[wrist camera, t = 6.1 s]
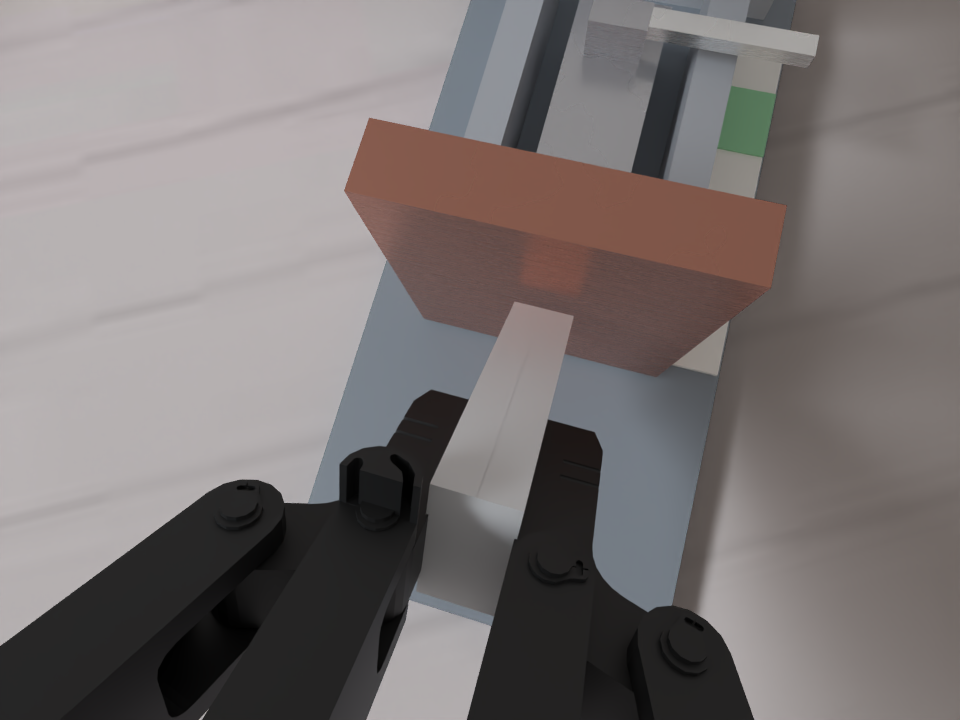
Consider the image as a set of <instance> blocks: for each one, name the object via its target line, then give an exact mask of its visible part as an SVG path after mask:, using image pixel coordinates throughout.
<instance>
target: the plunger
mask: <svg viewBox="0 0 960 720" xmlns="http://www.w3.org/2000/svg"><path fill="white" fill-rule="evenodd" d="M818 40H819V35H814V34H808V33H803V32H797V31H791V30H785V29H779V28H774V27H768V26H762V25H756V24H750V23H745V22H739V21H733V20H727V19H722V18H716V17H710V16H704V15H698V14H693V13H687V12H681V11H675V10H672V7H670V6H664V5H658V4H655V3H654V2H648V1H643V0H580V1H579V4H578V8H577V11H576V15H575V18H574V22H573V25H572V29H571V32H570V36H569V39H568V43H567V46H566V50H565V53H564V57H563V61H562V64H561V68H560V71H559V75H558V78H557V82H556V85H555V89H554V92H553V96H552V99H551V103H550V106H549V110H548V113H547V117H546V120H545V124H544V127H543V131H542V134H541V138H540V141H539V145H538V149H537V152H536V153H535V152H530V151H525V150H520V149H515V148H511V147H506V146H501V145H496V144H492V143H487V142H482V141H477V140H473V139H468V138H463V137H458V136H453V135H449V134H444V133H439V132H434V131H430V130H425V129H420V128H415V127H411V126H406V125H401V124H396V123H391V122H387V121H382V120H377V119H372V118H369V120H368V123H367V126H366V129H365V132H364V135H363V138H362V141H361V143H360V146H359V149H358V152H357V155H356V158H355V161H354V164H353V167H352V169H351V172H350V175H349V178H348V181H347V184H346V187H345V190H344V191H345V193H346V194H347V196H348V198H349V199H350V201H351V203H352V204H353V206H354V207H355V209H356V211H357V212H358V214H359V215H360V217H361V219H362V220H363V222H364V223H365V225H366V227H367V228H368V230H369V231H370V233H371V235H372V236H373V238H374V239H375V241H376V243H377V244H378V246H379V247H380V249H381V251H382V252H383V254H384V255H385V257H386V259H387V260H388V262H389V264H390V265H391V267H392V268H393V270H394V272H395V273H396V275H397V276H398V278H399V280H400V281H401V283H402V284H403V286H404V288H405V289H406V291H407V292H408V294H409V296H410V297H411V299H412V300H413V302H414V304H415V305H416V307H417V308H418V310H419V312H420V313H421V315H422V317H423V318H424V319H427V320H431V321H435V322H439V323H443V324H447V325H451V326H455V327H459V328H463V329H467V330H471V331H475V332H479V333H483V334H487V335H491V336H495V337H498V336H499V334H500V332H501V330H502V328H503V325H504V323H505V321H506V319H507V317H508V315H509V313H510V310H511V308H512V306H513V304H514V302H519V303H523V304H527V305H531V306H535V307H539V308H544V309H547V310H552V311H556V312H560V313H564V314H568V315H572V316H574V318H573V321H572V325H571V329H570V333H569V337H568V341H567V345H566V349H565V353H564V354H566V355H570V356H574V357H578V358H582V359H586V360H590V361H594V362H598V363H601V364H605V365H609V366H613V367H617V368H621V369H625V370H629V371H633V372H637V373H641V374H645V375H649V376H653V377H657V376H659V375H660V374H661V373H662V372H664V371H665V370H666V369H668V368H669V367H670V366H671V365H673V364H674V363H675V362H677V361H678V360H679V359H680V358H682V357H683V356H684V355H686V354H687V353H688V352H689V351H691V350H692V349H693V348H695V347H696V346H697V345H698V344H700V343H701V342H702V341H704V340H705V339H706V338H707V337H709V336H710V335H711V334H712V333H714V332H715V331H716V330H718V329H719V328H720V327H721V326H723V325H724V324H725V323H727V322H728V321H729V320H730V319H732V318H733V317H734V316H736V315H737V314H738V313H739V312H741V311H742V310H743V309H745V308H746V307H747V306H748V305H750V304H751V303H752V302H753V301H755V300H756V299H757V298H759V297H760V296H761V295H762V294H764V293H765V292H766V291H768V290H769V289H770V288H771V285H772V280H773V275H774V269H775V264H776V259H777V254H778V249H779V244H780V238H781V233H782V228H783V223H784V218H785V213H786V208H787V205H783V204H778V203H773V202H768V201H763V200H759V199H754V198H749V197H744V196H740V195H735V194H730V193H725V192H721V191H716V190H711V189H706V188H701V187H697V186H692V185H687V184H682V183H678V182H673V181H668V180H663V179H659V178H654V177H649V176H644V175H639V174H635V173H631V171H632V167H633V163H634V159H635V155H636V151H637V147H638V143H639V139H640V135H641V131H642V127H643V123H644V119H645V115H646V111H647V107H648V103H649V99H650V95H651V91H652V87H653V83H654V79H655V75H656V71H657V67H658V63H659V59H660V55H661V51H662V47H663V43H670V44H676V45H681V46H687V47H692V48H698V49H703V50H709V51H714V52H720V53H726V54H731V55H737V56H742V57H748V58H753V59H759V60H765V61H770V62H776V63H781V64H787V65H792V66H798V67H803V68H808V66H809V65H810V63H811V62H812V60H813V59H814V57H815V55H816V50H817V45H818Z"/></svg>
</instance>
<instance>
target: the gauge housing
mask: <svg viewBox="0 0 960 720" xmlns="http://www.w3.org/2000/svg"><path fill="white" fill-rule="evenodd" d="M579 1H580V0H471V1H470V4H469V8H468V11H467V14H466V17H465V20H464V23H463V26H462V29H461V32H460V35H459V38H458V42H457V45H456V48H455V51H454V54H453V57H452V60H451V63H450V66H449V69H448V72H447V76H446V79H445V82H444V85H443V88H442V91H441V94H440V97H439V100H438V103H437V106H436V109H435V113H434V116H433V119H432V122H431V125H430V128H429V130H430V131H434V132H439V133H444V134H449V135H453V136H458V137H463V138H468V139H473V140H477V141H482V142H487V143H492V144H496V145H501V146H506V147H511V148H515V149H520V150H525V151H530V152H535V153H536V152H537V149H538V145H539V141H540V138H541V134H542V131H543V127H544V124H545V120H546V117H547V113H548V110H549V106H550V103H551V99H552V96H553V92H554V89H555V85H556V82H557V78H558V75H559V71H560V68H561V64H562V61H563V57H564V53H565V50H566V46H567V43H568V39H569V36H570V32H571V29H572V25H573V22H574V18H575V15H576V11H577V8H578V4H579ZM643 1H648V2H654V3H655V4H658V5H664V6H670V7H672V10H675V11H681V12H687V13H693V14H698V15H704V16H710V17H716V18H722V19H727V20H733V21H739V22H745V23H750V24H756V25H762V26H768V27H774V28H779V29H785V30H790V28H791V23H792V19H793V14H794V9H795V4H796V0H643ZM782 67H783V64H781V63H776V62H770V61H765V60H759V59H753V58H748V57H742V56H737V55H731V54H726V53H720V52H714V51H709V50H703V49H698V48H692V47H687V46H681V45H676V44H670V43H663V47H662V51H661V55H660V59H659V63H658V67H657V71H656V75H655V79H654V83H653V87H652V91H651V95H650V99H649V103H648V107H647V111H646V115H645V119H644V123H643V127H642V131H641V135H640V139H639V143H638V147H637V151H636V155H635V159H634V163H633V167H632V171H631V173H635V174H639V175H644V176H649V177H654V178H659V179H663V180H668V181H673V182H678V183H682V184H687V185H692V186H697V187H701V188H706V189H711V190H716V191H721V192H725V193H730V194H735V195H740V196H744V197H749V198H754V199H756V194H757V189H758V184H759V179H760V174H761V169H762V165H763V160H764V155H765V150H766V145H767V140H768V135H769V131H770V126H771V121H772V116H773V111H774V106H775V101H776V96H777V92H778V87H779V82H780V77H781V72H782ZM730 320H731V319H730ZM730 320H729V321H728V322H727V323H725V324H724V325H723V326H721V327H720V328H719V329H718V330H716V331H715V332H714V333H712V334H711V335H710V336H709V337H707V338H706V339H705V340H704V341H702V342H701V343H700V344H698V345H697V346H696V347H695V348H693V349H692V350H691V351H689V352H688V353H687V354H686V355H684V356H683V357H682V358H680V359H679V360H678V361H677V362H675V363H674V364H673V365H671V366H670V367H669V368H668V369H666V370H665V371H664V372H662V373H661V374H660V375H659V376H657V377H653V376H649V375H645V374H641V373H637V372H633V371H629V370H625V369H621V368H617V367H613V366H609V365H605V364H601V363H598V362H594V361H590V360H586V359H582V358H578V357H574V356H570V355H566V354H564V357H563V361H562V365H561V369H560V373H559V377H558V381H557V385H556V389H555V393H554V397H553V400H552V404H551V408H550V412H549V416H548V419H549V420H552V421H556V422H560V423H563V424H567V425H571V426H574V427H578V428H582V429H586V430H589V431H593V432H595V433H596V436H597V438H598V440H599V443H600V445H601V447H602V450H603V457H602V466H601V472H600V473H601V475H600V484H599V488H598V489H599V493H598V501H597V510H596V519H595V528H594V537H593V558H594V561H595V564H596V567H597V569H598V571H599V572H600V574H601V576H602V577H603V579H604V580H605V581H606V582H607V583H608V584H609V585H610V586H611V587H612V588H613V589H614V590H615V591H617V592H618V593H619V594H620V595H622V596H623V597H625V598H626V599H628V600H629V601H631V602H633V603H634V604H636V605H637V606H639V607H640V608H642V609H644V610H645V611H647V612H649V611H651V610H652V609H654V608H655V607H661V606H672V603H673V598H674V593H675V588H676V583H677V578H678V573H679V569H680V564H681V559H682V554H683V549H684V544H685V539H686V534H687V530H688V525H689V520H690V515H691V510H692V505H693V500H694V496H695V491H696V486H697V481H698V476H699V471H700V466H701V461H702V457H703V452H704V447H705V442H706V437H707V432H708V427H709V423H710V418H711V413H712V408H713V403H714V398H715V393H716V388H717V384H718V379H719V374H720V369H721V364H722V359H723V354H724V350H725V345H726V340H727V335H728V330H729V325H730ZM497 338H498V337H495V336H491V335H487V334H483V333H479V332H475V331H471V330H467V329H463V328H459V327H455V326H451V325H447V324H443V323H439V322H435V321H431V320H427V319H424V318H423V317H422V315H421V313H420V312H419V310H418V308H417V307H416V305H415V304H414V302H413V300H412V299H411V297H410V296H409V294H408V292H407V291H406V289H405V288H404V286H403V284H402V283H401V281H400V280H399V278H398V276H397V275H396V273H395V272H394V270H393V268H392V267H391V265H390V264H389V262H388V260H387V261H386V264H385V267H384V270H383V273H382V276H381V279H380V283H379V286H378V289H377V292H376V295H375V298H374V301H373V304H372V307H371V310H370V313H369V317H368V320H367V323H366V326H365V329H364V332H363V335H362V338H361V341H360V344H359V347H358V351H357V354H356V357H355V360H354V363H353V366H352V369H351V372H350V375H349V378H348V381H347V385H346V388H345V391H344V394H343V397H342V400H341V403H340V406H339V409H338V412H337V415H336V419H335V422H334V425H333V428H332V431H331V434H330V437H329V440H328V443H327V446H326V449H325V453H324V456H323V459H322V462H321V465H320V468H319V471H318V474H317V477H316V480H315V483H314V487H313V490H312V493H311V496H310V499H309V502H308V504H318V503H329V502H333V501H337V500H339V464H340V463H341V462H342V461H343V460H344V459H345V458H346V457H347V456H348V455H349V454H351V453H353V452H356V451H358V450H360V449H362V448H367V447H374V446H385V447H386V446H387V444H388V442H389V441H390V439H391V437H392V436H393V434H394V433H395V432H396V429H397V428H398V426H399V424H400V423H401V421H402V420H403V419H404V416H405V414H406V413H407V411H408V409H409V408H410V406H411V404H412V403H413V401H414V400H415V399H417V398H419V397H420V396H422V395H423V394H425V393H426V392H428V391H429V390H431V389H432V390H436V391H439V392H443V393H447V394H450V395H454V396H458V397H461V398H465V399H470V396H471V394H472V392H473V390H474V388H475V386H476V384H477V381H478V379H479V377H480V375H481V373H482V371H483V368H484V366H485V364H486V362H487V360H488V358H489V356H490V353H491V351H492V349H493V347H494V345H495V343H496V341H497ZM417 580H418V579H417ZM416 588H417V581H416V584H415V586H414V589H413V591H412V594H411V596H410V599H409V600H412V601H415V602H418V603H421V604H424V605H427V606H431V607H434V608H437V609H440V610H443V611H446V612H449V613H453V614H456V615H459V616H462V617H465V618H468V619H471V620H475V621H478V622H481V623H484V624H487V625H490V626H492V622H493V618H494V616H491V615H488V614H485V613H482V612H479V611H476V610H472V609H469V608H466V607H463V606H460V605H457V604H454V603H451V602H448V601H445V600H442V599H439V598H435V597H432V596H429V595H426V594H423V593H420V592H417V591H416Z"/></svg>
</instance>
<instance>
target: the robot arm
mask: <svg viewBox="0 0 960 720" xmlns="http://www.w3.org/2000/svg"><path fill="white" fill-rule="evenodd" d="M573 318H574V316H572V315H568V314H564V313H560V312H556V311H552V310H547V309H544V308H539V307H535V306H531V305H527V304H523V303H519V302H514V304H513V306H512V308H511V310H510V313H509V315H508V317H507V319H506V321H505V323H504V325H503V328H502V330H501V332H500V334H499V336H498V338H497V341H496V343H495V345H494V347H493V349H492V351H491V353H490V356H489V358H488V360H487V362H486V364H485V366H484V368H483V371H482V373H481V375H480V377H479V379H478V381H477V384H476V386H475V388H474V390H473V392H472V394H471V396H470V399H465V398H461V397H458V396H454V395H450V394H447V393H443V392H439V391H436V390H432V389H431V390H429V391H428V392H426V393H425V394H423V395H422V396H420V397H419V398H417V399H415V400H414V401H413V403H412V404H411V406H410V408H409V409H408V411H407V413H406V414H405V416H404V419H403V420H402V421H401V423H400V424H399V426H398V428H397V429H396V432H395V433H394V434H393V436H392V437H391V439H390V441H389V442H388V444H387V446H386V447H385V446H374V447H367V448H362V449H360V450H358V451H356V452H353V453H351V454H349V455H348V456H347V457H346V458H345V459H344V460H343V461H342V462H341V463H340V464H339V500H337V501H333V502H329V503H318V504H302V503H284V501H283V498H282V495H281V493H280V492H279V491H278V490H277V489H275V488H274V487H273V486H272V485H270V484H268V483H265V482H262V481H259V480H237V481H233V482H229V483H225V484H222V485H221V486H219V487H217V488H215V489H213V490H211V491H209V492H208V493H207V494H205V495H204V496H203V497H201V498H200V499H198V500H197V501H196V502H194V503H193V504H192V505H190V506H189V507H188V508H186V509H185V510H184V511H182V512H181V513H180V514H178V515H177V516H175V517H174V518H173V519H171V520H170V521H169V522H167V523H166V524H165V525H163V526H162V527H161V528H159V529H158V530H157V531H155V532H154V533H153V534H151V535H150V536H148V537H147V538H146V539H144V540H143V541H142V542H140V543H139V544H138V545H136V546H135V547H134V548H132V549H131V550H130V551H128V552H127V553H125V554H124V555H123V556H121V557H120V558H119V559H117V560H116V561H115V562H113V563H112V564H111V565H109V566H108V567H107V568H105V569H104V570H103V571H101V572H100V573H98V574H97V575H96V576H94V577H93V578H92V579H90V580H89V581H88V582H86V583H85V584H84V585H82V586H81V587H80V588H78V589H77V590H76V591H74V592H73V593H71V594H70V595H69V596H67V597H66V598H65V599H63V600H62V601H61V602H59V603H58V604H57V605H55V606H54V607H53V608H51V609H50V610H48V611H47V612H46V613H44V614H43V615H42V616H40V617H39V618H38V619H36V620H35V621H34V622H32V623H31V624H30V625H28V626H27V627H26V628H24V629H23V630H21V631H20V632H19V633H17V634H16V635H15V636H13V637H12V638H11V639H9V640H8V641H7V642H5V643H4V644H3V645H1V646H0V720H199V719H200V718H201V717H202V715H203V714H204V713H205V712H206V711H207V710H208V709H209V710H208V711H207V713H206V714H205V716H204V718H203V719H202V720H366V719H367V716H368V714H369V711H370V709H371V706H372V704H373V701H374V698H375V696H376V693H377V691H378V688H379V686H380V683H381V681H382V678H383V676H384V673H385V671H386V668H387V666H388V663H389V661H390V658H391V656H392V653H393V651H394V648H395V646H396V643H397V641H398V638H399V636H400V633H401V631H402V628H403V626H404V623H405V621H406V615H407V609H408V601H409V599H410V596H411V594H412V591H413V589H414V586H415V584H416V581H417V588H416V591H417V592H420V593H423V594H426V595H429V596H432V597H435V598H439V599H442V600H445V601H448V602H451V603H454V604H457V605H460V606H463V607H466V608H469V609H472V610H476V611H479V612H482V613H485V614H488V615H491V616H494V618H493V622H492V626H491V630H490V634H489V638H488V642H487V645H486V649H485V653H484V657H483V661H482V664H481V668H480V672H479V676H478V680H477V683H476V687H475V691H474V695H473V699H472V702H471V706H470V710H469V714H468V718H467V720H754V718H753V715H752V712H751V709H750V707H749V704H748V701H747V698H746V695H745V692H744V690H743V687H742V684H741V681H740V678H739V675H738V673H737V670H736V667H735V664H734V661H733V659H732V656H731V653H730V651H729V649H728V647H727V646H726V644H725V642H724V640H723V638H722V636H721V635H720V634H719V633H718V632H717V631H716V630H715V629H714V628H713V627H712V626H711V625H710V624H709V623H708V621H706V620H705V619H703V618H702V617H700V616H698V615H697V614H695V613H693V612H692V611H690V610H687V609H683V608H680V607H676V606H661V607H655V608H654V609H652V610H651V611H649V612H647V611H645V610H644V609H642V608H640V607H639V606H637V605H636V604H634V603H633V602H631V601H629V600H628V599H626V598H625V597H623V596H622V595H620V594H619V593H618V592H617V591H615V590H614V589H613V588H612V587H611V586H610V585H609V584H608V583H607V582H606V581H605V580H604V579H603V577H602V576H601V574H600V572H599V571H598V569H597V567H596V564H595V561H594V558H593V537H594V528H595V519H596V510H597V501H598V493H599V489H598V488H599V484H600V475H601V473H600V472H601V466H602V457H603V450H602V447H601V445H600V443H599V440H598V438H597V436H596V433H595V432H593V431H589V430H586V429H582V428H578V427H574V426H571V425H567V424H563V423H560V422H556V421H552V420H549V419H548V416H549V412H550V408H551V404H552V400H553V397H554V393H555V389H556V385H557V381H558V377H559V373H560V369H561V365H562V361H563V357H564V353H565V349H566V345H567V341H568V337H569V333H570V329H571V325H572V321H573ZM417 579H418V580H417Z"/></svg>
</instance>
